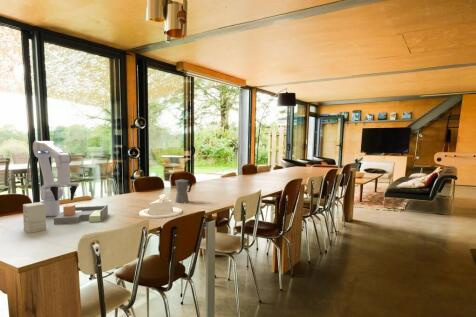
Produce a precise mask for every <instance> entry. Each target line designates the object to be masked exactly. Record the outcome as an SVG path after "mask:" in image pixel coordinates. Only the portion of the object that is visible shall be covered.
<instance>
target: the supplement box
mask: <svg viewBox="0 0 476 317" xmlns="http://www.w3.org/2000/svg"><path fill="white" fill-rule="evenodd" d="M22 212H23V214H22V216H23V230H24V231H25V232H26V233H28V234H30V233H35V232H40V231H45V230H47V216H46V209H45V204H44V203H41V202H40V201H39V202H38V201H37V202H31V203H24V204H22Z"/></svg>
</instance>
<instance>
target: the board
mask: <svg viewBox="0 0 476 317" xmlns="http://www.w3.org/2000/svg"><path fill="white" fill-rule="evenodd" d="M108 206H109V204H105V205H94V206H93V205H92V206H75V214H73V215H64V214H63V211H61V212H62V213H61V214H59V215H58V216H54V217H53V225H62V224H77V223H80V222H81V221H88V222H89V223H93V222H95V223H96V222H103V221H104V219H105V218H106V217H107V216H108V214H109V211H108V210H109V207H108Z"/></svg>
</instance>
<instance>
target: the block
mask: <svg viewBox="0 0 476 317" xmlns="http://www.w3.org/2000/svg"><path fill="white" fill-rule="evenodd" d="M75 207H76V204H66V205H64V206H63V209H62V210H63V211H62V212H63V214H64V215H73V214H75V212H76V211H75Z"/></svg>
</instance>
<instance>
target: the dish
mask: <svg viewBox="0 0 476 317" xmlns="http://www.w3.org/2000/svg"><path fill="white" fill-rule="evenodd" d="M158 197H159V198H158V199H157V200H155V201H152V202H150V203H148V208H145V209H141V210H140V211H139V212H138V213H139V214H138V215H139V217H142V218H146V219H164V218H165V217H166V218H172V216H173V217H176V215H177V216H179V215H181V214H183V209H182V208H179V207H175V206H174V200H170V199H169V198H170V194H165V193H162V194H159V195H158ZM166 218H165V219H166Z"/></svg>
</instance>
